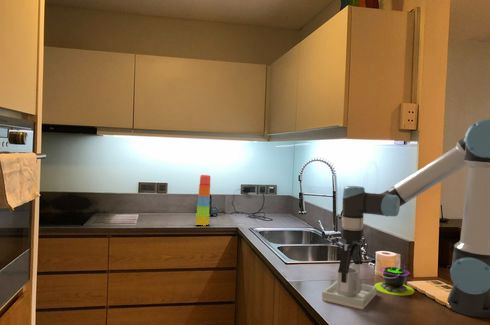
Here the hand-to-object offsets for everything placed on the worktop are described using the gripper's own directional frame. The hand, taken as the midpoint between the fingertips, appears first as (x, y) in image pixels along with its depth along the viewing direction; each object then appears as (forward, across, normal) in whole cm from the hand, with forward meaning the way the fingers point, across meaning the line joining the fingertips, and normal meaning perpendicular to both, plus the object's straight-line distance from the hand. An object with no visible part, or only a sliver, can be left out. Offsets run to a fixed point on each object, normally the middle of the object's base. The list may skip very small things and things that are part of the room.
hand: (350, 286), depth 151 cm
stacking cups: (+4, -75, -126) cm, 147 cm away
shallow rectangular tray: (+4, 0, 0) cm, 4 cm away
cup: (+3, +1, 0) cm, 3 cm away
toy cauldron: (+5, -20, +11) cm, 24 cm away
